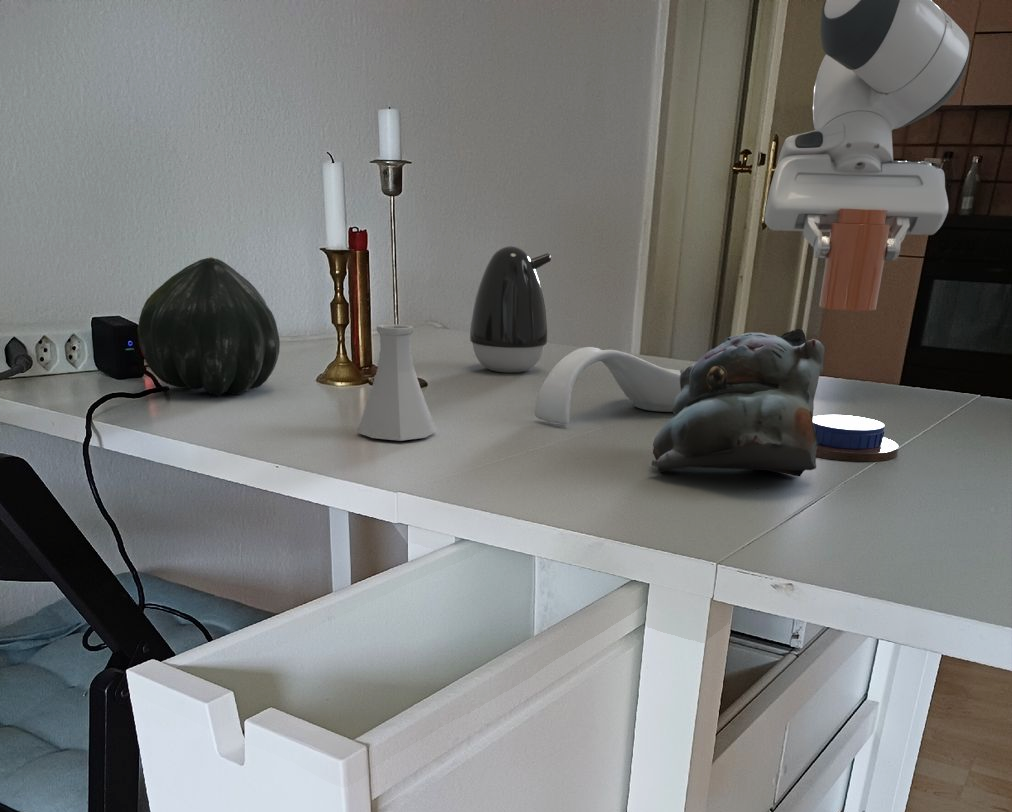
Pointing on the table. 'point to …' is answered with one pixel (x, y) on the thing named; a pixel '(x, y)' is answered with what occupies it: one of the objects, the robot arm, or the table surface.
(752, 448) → the lucky cat figurine
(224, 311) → the squash
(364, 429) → the flask
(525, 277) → the pump dispenser
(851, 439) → the jar lid
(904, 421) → the table surface
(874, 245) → the jar
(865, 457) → the coaster
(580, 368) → the spoon rest
